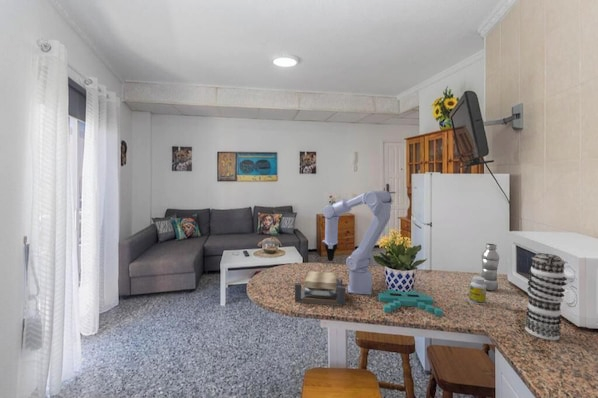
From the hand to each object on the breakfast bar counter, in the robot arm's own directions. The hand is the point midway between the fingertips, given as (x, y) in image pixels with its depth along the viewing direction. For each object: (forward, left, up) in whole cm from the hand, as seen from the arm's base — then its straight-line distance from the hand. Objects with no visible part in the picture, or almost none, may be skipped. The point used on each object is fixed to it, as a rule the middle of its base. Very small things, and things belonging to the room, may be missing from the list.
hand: (330, 260), depth 134 cm
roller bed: (+3, +12, -9) cm, 16 cm away
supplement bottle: (-58, +13, -10) cm, 60 cm away
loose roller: (+3, +22, -9) cm, 24 cm away
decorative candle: (-68, +34, -10) cm, 77 cm away
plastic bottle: (-69, -2, -10) cm, 70 cm away
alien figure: (-30, +18, -10) cm, 37 cm away
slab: (+3, +17, -4) cm, 18 cm away
